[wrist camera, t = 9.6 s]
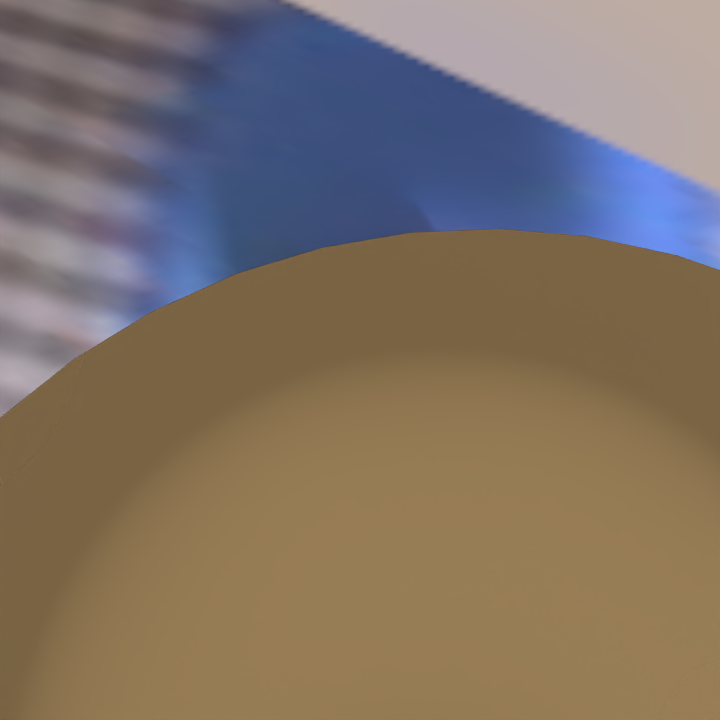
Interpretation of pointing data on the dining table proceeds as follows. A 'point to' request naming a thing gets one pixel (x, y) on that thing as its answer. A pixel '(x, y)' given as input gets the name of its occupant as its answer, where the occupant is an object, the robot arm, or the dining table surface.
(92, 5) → the dining table surface
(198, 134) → the dining table surface
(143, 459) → the billet
